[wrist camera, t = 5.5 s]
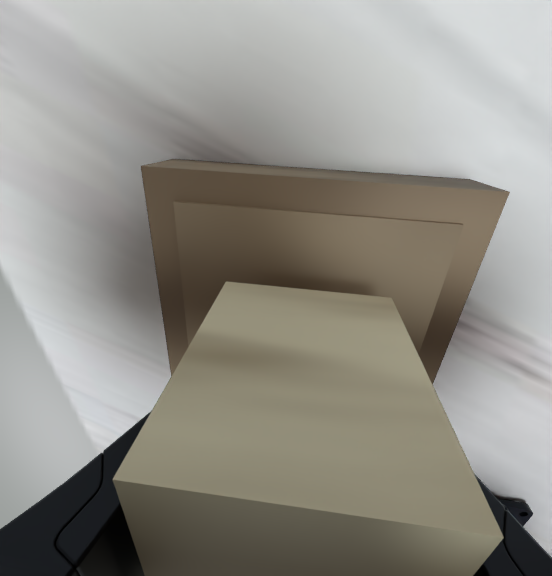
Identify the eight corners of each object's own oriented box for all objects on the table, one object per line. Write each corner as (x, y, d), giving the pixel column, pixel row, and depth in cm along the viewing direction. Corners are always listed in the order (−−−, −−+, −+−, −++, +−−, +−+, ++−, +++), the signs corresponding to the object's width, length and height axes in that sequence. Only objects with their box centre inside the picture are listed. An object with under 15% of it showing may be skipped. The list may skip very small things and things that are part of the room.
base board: (396, 397, 16) (411, 443, 14) (194, 373, 17) (175, 412, 14) (470, 179, 11) (512, 193, 9) (173, 159, 12) (138, 166, 9)
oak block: (360, 413, 11) (402, 662, 6) (229, 397, 12) (159, 618, 6) (391, 297, 9) (503, 537, 4) (225, 281, 9) (112, 479, 4)
